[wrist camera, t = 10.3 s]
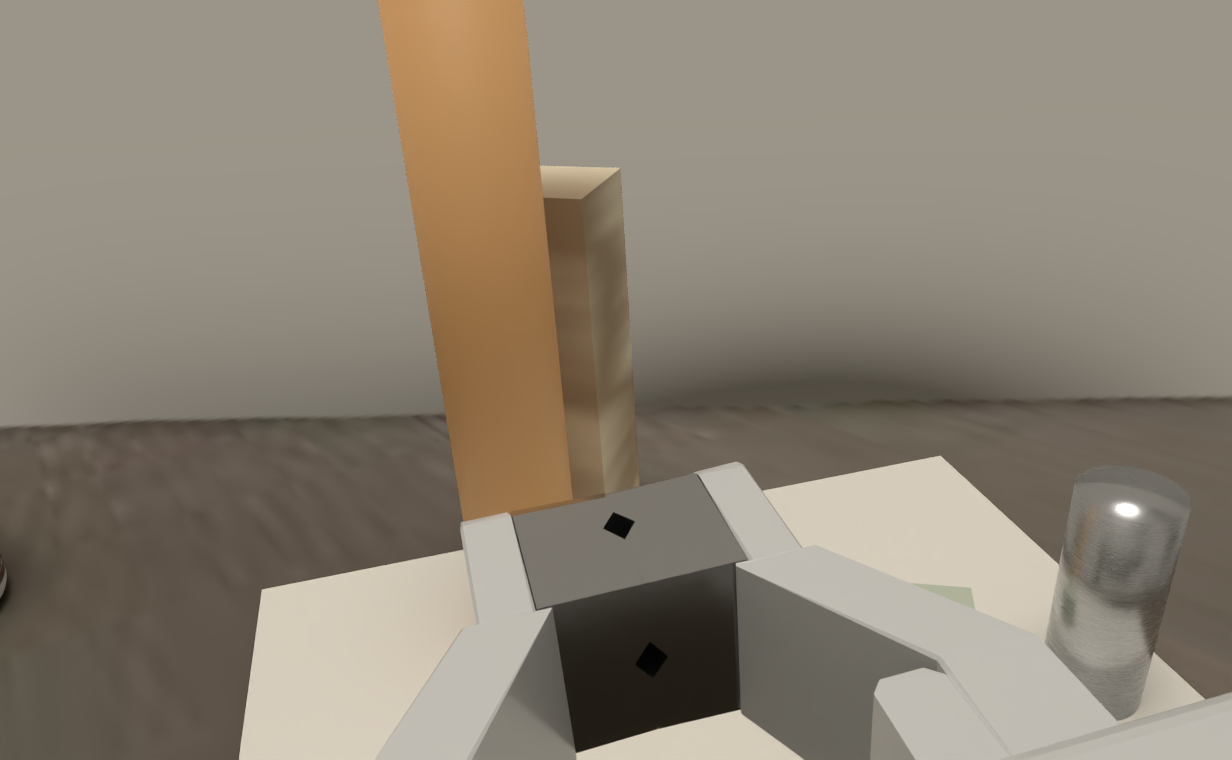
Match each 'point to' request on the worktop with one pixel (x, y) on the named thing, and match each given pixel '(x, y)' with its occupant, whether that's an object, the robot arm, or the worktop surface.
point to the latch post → (592, 325)
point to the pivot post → (1116, 580)
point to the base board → (672, 756)
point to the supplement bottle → (2, 576)
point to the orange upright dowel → (487, 247)
